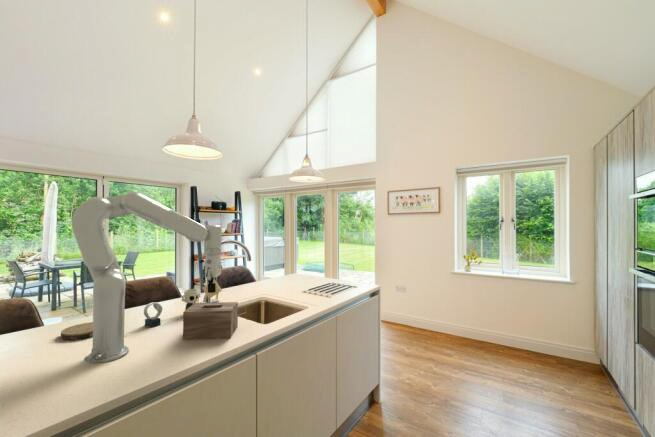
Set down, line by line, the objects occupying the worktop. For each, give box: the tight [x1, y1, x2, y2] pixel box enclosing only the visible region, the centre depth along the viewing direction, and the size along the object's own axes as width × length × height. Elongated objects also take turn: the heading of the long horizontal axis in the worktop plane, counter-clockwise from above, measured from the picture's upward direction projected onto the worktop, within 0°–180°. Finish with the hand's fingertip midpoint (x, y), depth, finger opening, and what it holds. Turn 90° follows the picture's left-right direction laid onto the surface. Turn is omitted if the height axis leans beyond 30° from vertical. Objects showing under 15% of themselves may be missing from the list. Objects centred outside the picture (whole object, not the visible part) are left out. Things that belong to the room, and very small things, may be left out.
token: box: [201, 280, 223, 300], centre depth 132 cm, size 2×6×6 cm
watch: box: [143, 301, 163, 328], centre depth 142 cm, size 6×8×11 cm
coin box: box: [182, 301, 239, 341], centre depth 132 cm, size 14×20×12 cm
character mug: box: [181, 288, 201, 311], centre depth 160 cm, size 11×7×13 cm, turn 148°
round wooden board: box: [60, 321, 93, 342], centre depth 131 cm, size 16×16×3 cm
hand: (212, 291), depth 132 cm, fingers closed on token, 2 cm apart
